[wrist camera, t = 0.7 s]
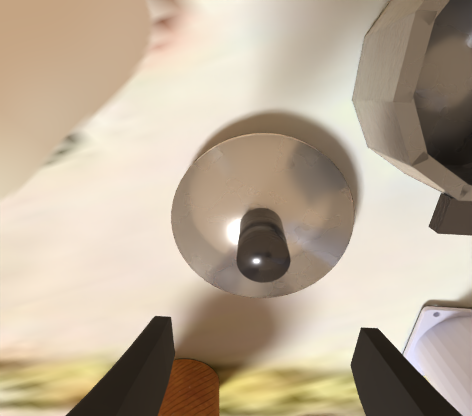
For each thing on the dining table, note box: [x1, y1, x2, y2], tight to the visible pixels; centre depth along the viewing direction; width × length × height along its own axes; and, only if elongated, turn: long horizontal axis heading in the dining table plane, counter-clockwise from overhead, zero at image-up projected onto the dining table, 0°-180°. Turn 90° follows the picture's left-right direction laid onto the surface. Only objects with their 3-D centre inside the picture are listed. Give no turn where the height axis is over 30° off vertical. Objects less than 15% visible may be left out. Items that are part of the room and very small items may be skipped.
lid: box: [171, 133, 354, 298], centre depth 17 cm, size 13×13×6 cm
